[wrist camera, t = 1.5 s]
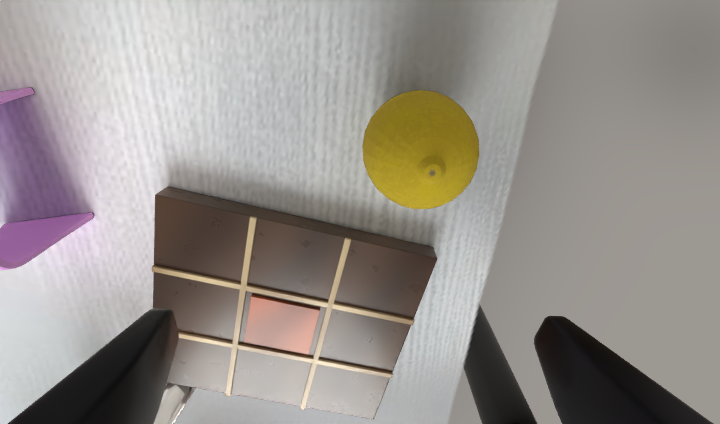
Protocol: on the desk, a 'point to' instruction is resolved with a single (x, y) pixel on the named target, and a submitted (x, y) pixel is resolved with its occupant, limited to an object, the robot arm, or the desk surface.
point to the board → (283, 302)
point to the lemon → (421, 149)
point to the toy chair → (32, 222)
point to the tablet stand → (173, 403)
